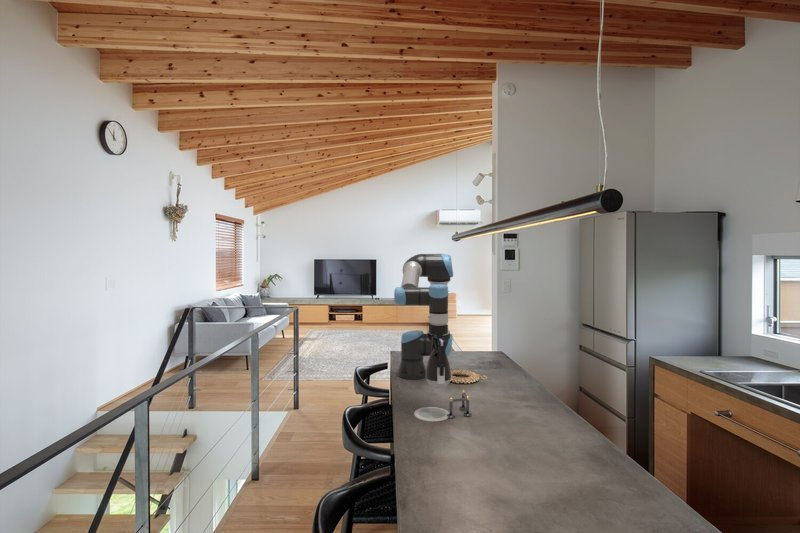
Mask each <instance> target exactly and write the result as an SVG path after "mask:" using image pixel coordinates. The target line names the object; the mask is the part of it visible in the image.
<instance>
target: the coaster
mask: <svg viewBox="0 0 800 533" xmlns="http://www.w3.org/2000/svg"><path fill="white" fill-rule="evenodd" d="M413 414H414V417H415V418H416V419H418V420H420V421H424V422H433V423H435V422H442V421H443V422H444V421H446V420H447V419H449V418H448V416H447V414H449V410H447V409H445V408H442V407H438V406H425V407H424V406H423V407H419V408H417V409H416V410H415V411H414V413H413Z"/></svg>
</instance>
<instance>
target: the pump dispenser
mask: <svg viewBox="0 0 800 533" xmlns="http://www.w3.org/2000/svg"><path fill="white" fill-rule="evenodd" d="M445 354H446V353H445ZM448 358H449V357H448V356H447V355H446V367H445V384H437V367H436V366H437V365H438V359H437V351H436V350H435V349H434V350H433V351H432V353H431V355H430V356H428V361H427V364H426V367H425V368H426V377H425V379H426V382H427V384H428V385H429V386H430V387H432V388H435V389H443V388H444V389H445V388H446V387H447V386H448V385H449V384H450V383H451V379H452V368H451V364H450V361H449V359H448ZM441 364H443V363H441Z"/></svg>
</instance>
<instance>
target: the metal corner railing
mask: <svg viewBox="0 0 800 533" xmlns="http://www.w3.org/2000/svg"><path fill="white" fill-rule="evenodd" d="M460 393H461V398H453V397H451V396H450V397H448V401H449V403H448V404H449V408H448V409H449V410H448V412H449V414H447V416H448V419H455V418H456V414H453V403H455V402H461V405H460V406H459V408H458V409H459V410H460V411H465V412H463V416H464V417H466V418H471V417H473V416H472V415H473V414H472V413H471V412H470V400H471V397H470V395H467V393H466V391H465V390H461V392H460Z"/></svg>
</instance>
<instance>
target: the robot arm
mask: <svg viewBox="0 0 800 533" xmlns="http://www.w3.org/2000/svg"><path fill="white" fill-rule="evenodd" d="M453 270H454V269H453V262H452V256H451V255H450V254H446V253H418V254H415V255H413V256H411V257H410V258H408V259H407V260H406V261H405V263H404V264H403V266H402V281H401V285H400V286H399V287H395V288H394V292H393V294H394V295H393V298H394V304H395V305H396V306H398V305H400V306H428V310H429V311H428V315H427V318H428V323H429V324H428V329H427V332H426V333H424V331H423V330H420V329H417V330H409V331H405V332H404V333H402V335H401V340H400V343H401V348H400V350H401V351H400V357H401V358H400V363H399V366H398V370H397V376H398V378H401V379H405V380H420V379H424V378H426V368H427V367H426V365H425V362H424V357H430V355H431V353H432V351H433V350H434V349H435V350H436V351H437V359H438V365H437V366H436V367H437V384H445V367H446V355H447V357H448V356H450V354H451V351H452V347H453V334H452V333H451V332H450V330H449V324H448V323H449V287H448V284H449V283H450V282H451V278H453V277H454V271H453ZM420 277H421V278H427V282H428V283H429V284H430V285H429V287H427V286H426V287H424V286H423V287H419V282H420ZM445 353H446V354H445ZM441 363H443V364H441Z"/></svg>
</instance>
